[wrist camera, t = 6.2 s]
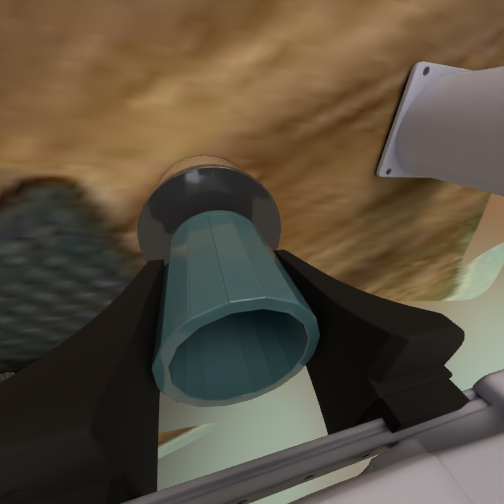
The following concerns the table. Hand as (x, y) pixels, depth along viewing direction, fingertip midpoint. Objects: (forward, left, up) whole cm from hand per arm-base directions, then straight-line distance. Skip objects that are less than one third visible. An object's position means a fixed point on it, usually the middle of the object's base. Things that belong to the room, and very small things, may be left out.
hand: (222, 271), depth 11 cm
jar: (0, 0, -8) cm, 8 cm away
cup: (0, 0, -2) cm, 2 cm away
